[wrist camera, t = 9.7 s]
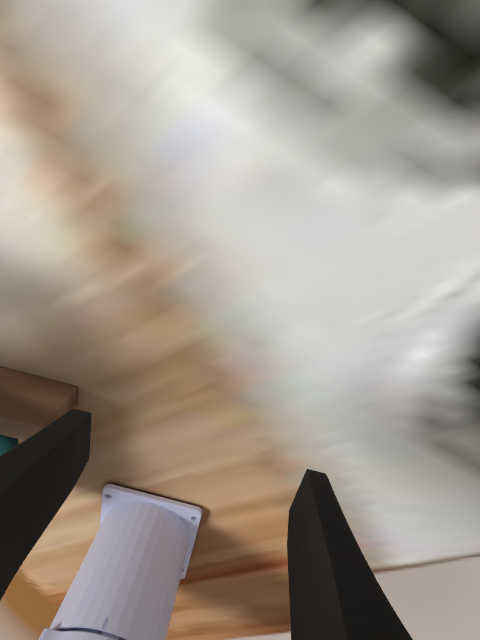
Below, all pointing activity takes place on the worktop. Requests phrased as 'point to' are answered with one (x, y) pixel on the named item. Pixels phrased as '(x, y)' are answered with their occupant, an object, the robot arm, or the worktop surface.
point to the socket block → (31, 403)
